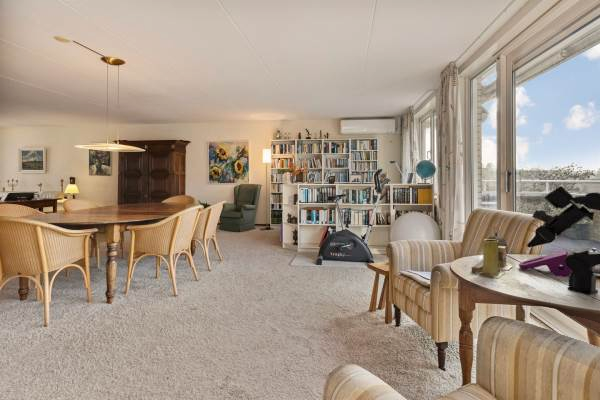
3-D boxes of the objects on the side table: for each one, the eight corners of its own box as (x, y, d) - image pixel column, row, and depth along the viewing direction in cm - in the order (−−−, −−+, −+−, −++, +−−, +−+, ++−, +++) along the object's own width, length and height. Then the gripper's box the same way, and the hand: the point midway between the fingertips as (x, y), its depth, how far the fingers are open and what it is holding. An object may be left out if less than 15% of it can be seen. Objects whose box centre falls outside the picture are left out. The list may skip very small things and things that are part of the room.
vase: (498, 276, 133) (499, 242, 132) (481, 274, 136) (482, 240, 135) (498, 272, 138) (499, 239, 137) (482, 270, 141) (482, 238, 140)
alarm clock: (507, 262, 154) (508, 228, 153) (496, 262, 154) (497, 228, 153) (494, 256, 165) (495, 225, 164) (483, 256, 165) (484, 225, 164)
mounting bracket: (527, 285, 139) (577, 274, 128) (517, 266, 141) (566, 254, 130) (529, 279, 146) (576, 268, 136) (519, 262, 148) (566, 249, 137)
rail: (513, 266, 147) (513, 246, 146) (497, 279, 130) (497, 256, 129) (487, 262, 155) (487, 243, 154) (469, 274, 138) (469, 252, 137)
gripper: (553, 200, 127) (519, 225, 136) (543, 204, 114) (507, 231, 123) (578, 221, 122) (541, 246, 131) (572, 228, 109) (531, 255, 118)
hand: (530, 244), depth 126 cm, fingers open, 9 cm apart
